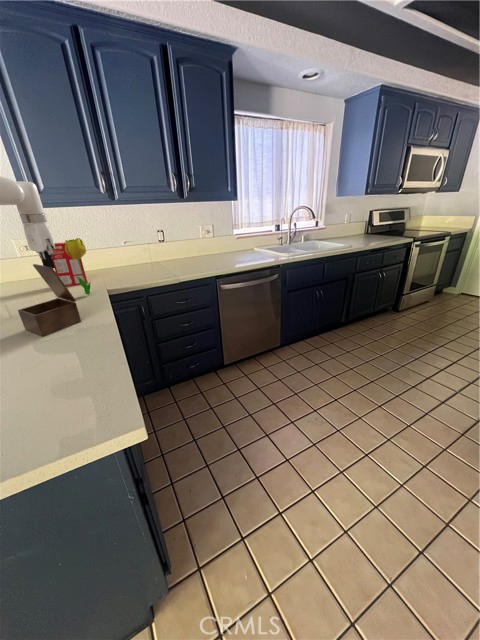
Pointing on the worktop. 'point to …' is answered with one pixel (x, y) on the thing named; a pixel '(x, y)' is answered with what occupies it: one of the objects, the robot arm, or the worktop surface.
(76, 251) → the flower
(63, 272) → the food packaging
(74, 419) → the worktop surface
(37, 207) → the robot arm
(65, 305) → the chest
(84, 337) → the worktop surface
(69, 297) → the lid
